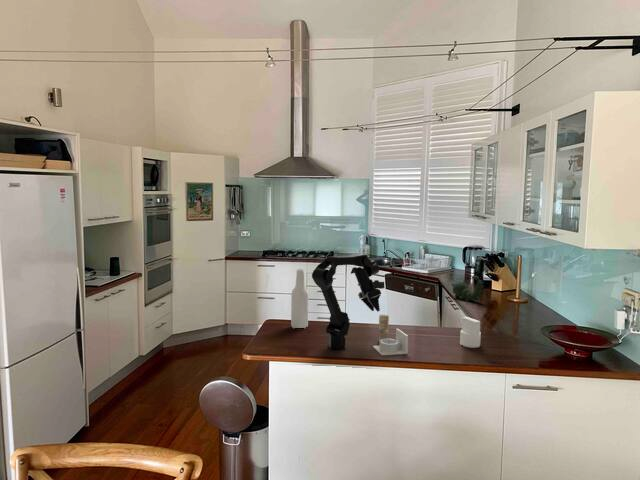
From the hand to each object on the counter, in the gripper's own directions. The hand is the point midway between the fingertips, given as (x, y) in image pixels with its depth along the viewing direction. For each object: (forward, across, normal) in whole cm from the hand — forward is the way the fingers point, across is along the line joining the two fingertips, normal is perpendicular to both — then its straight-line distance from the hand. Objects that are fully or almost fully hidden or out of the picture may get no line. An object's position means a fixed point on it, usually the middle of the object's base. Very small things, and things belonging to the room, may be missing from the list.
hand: (375, 311), depth 209 cm
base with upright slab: (+31, -3, -35) cm, 47 cm away
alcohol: (-3, +31, +33) cm, 46 cm away
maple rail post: (+15, +4, +1) cm, 16 cm away
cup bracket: (+17, -8, +3) cm, 19 cm away
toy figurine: (+27, +83, -82) cm, 120 cm away
